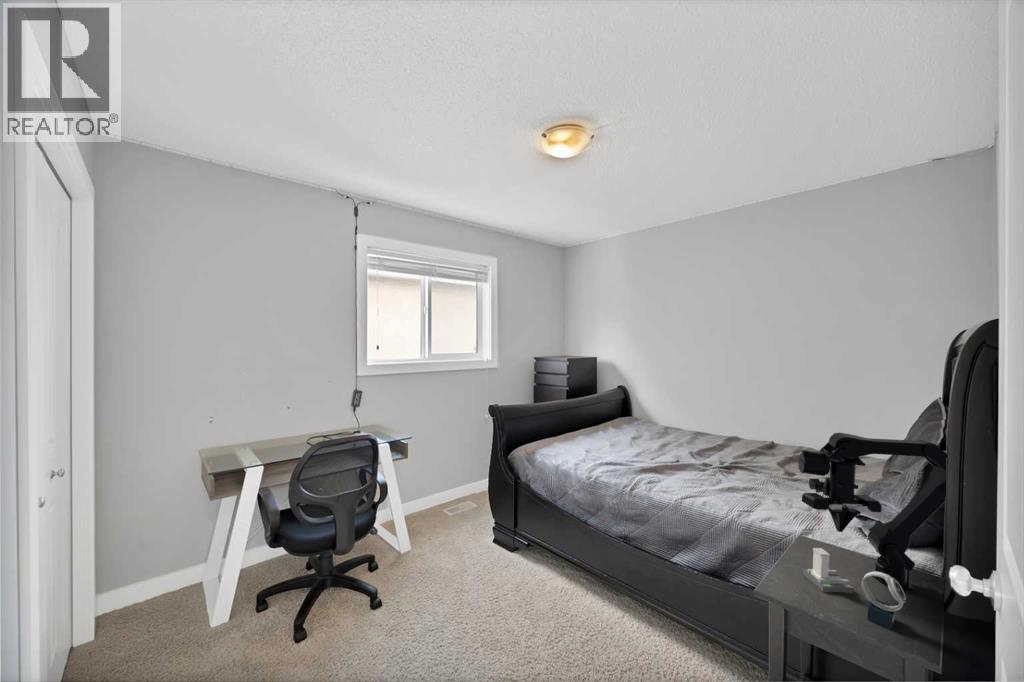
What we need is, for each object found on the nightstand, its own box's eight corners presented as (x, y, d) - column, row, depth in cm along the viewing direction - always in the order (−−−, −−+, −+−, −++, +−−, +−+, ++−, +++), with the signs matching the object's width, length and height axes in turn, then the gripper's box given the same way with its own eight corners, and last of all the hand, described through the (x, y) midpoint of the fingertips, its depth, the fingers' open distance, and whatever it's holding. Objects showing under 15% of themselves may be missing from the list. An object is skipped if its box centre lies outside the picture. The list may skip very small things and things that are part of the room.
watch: (903, 634, 96) (905, 587, 95) (858, 615, 102) (860, 571, 101) (906, 623, 99) (908, 578, 99) (862, 606, 105) (864, 563, 105)
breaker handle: (821, 574, 116) (822, 548, 116) (830, 580, 113) (831, 554, 113) (810, 573, 116) (811, 547, 116) (818, 580, 113) (819, 554, 113)
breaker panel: (831, 575, 118) (832, 567, 118) (853, 593, 110) (854, 584, 110) (803, 574, 119) (803, 565, 119) (822, 592, 111) (823, 582, 111)
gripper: (853, 469, 127) (850, 519, 128) (791, 467, 128) (788, 517, 128) (884, 483, 116) (881, 538, 117) (816, 480, 117) (813, 535, 117)
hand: (839, 531), depth 120 cm, fingers closed
